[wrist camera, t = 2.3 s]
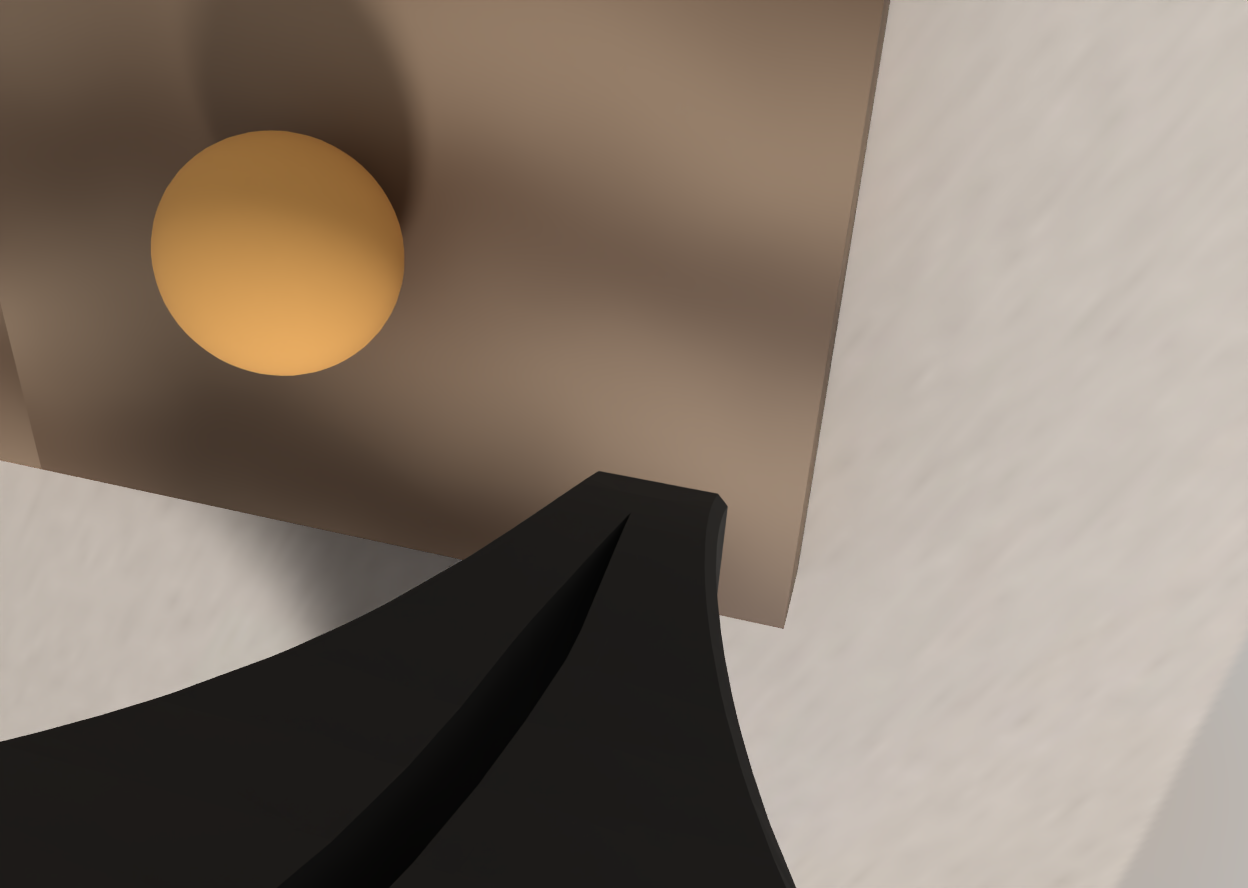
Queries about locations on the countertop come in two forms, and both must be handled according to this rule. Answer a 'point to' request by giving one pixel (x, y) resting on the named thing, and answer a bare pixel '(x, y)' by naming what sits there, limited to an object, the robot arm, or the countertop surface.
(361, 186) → the ball
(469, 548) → the board
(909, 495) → the countertop surface
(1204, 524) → the countertop surface
